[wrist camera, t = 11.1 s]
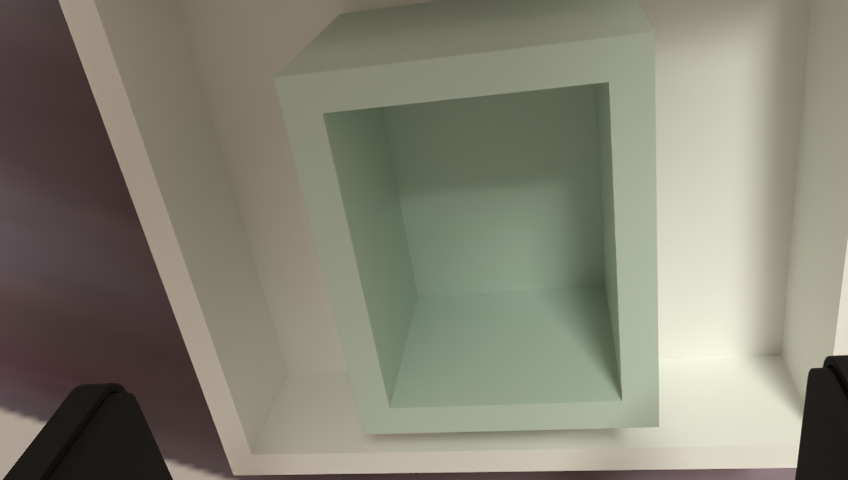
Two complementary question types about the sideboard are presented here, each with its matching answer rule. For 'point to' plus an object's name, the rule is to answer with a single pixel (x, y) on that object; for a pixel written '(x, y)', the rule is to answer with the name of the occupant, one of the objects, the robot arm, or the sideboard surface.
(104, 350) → the sideboard surface
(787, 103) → the big crate
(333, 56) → the small crate
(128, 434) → the robot arm
